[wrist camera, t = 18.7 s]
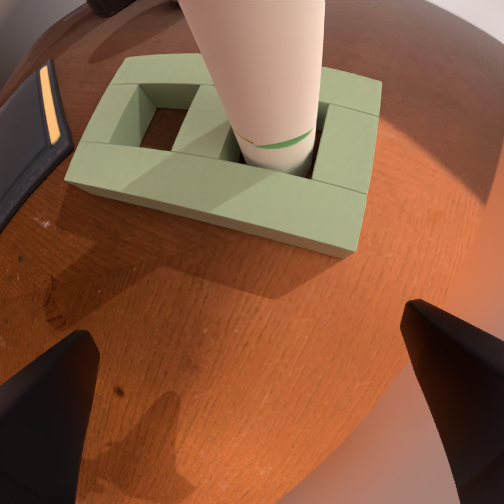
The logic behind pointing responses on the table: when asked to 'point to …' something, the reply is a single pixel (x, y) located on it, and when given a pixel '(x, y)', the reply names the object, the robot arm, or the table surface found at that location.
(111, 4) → the statue
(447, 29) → the table surface
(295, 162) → the tube
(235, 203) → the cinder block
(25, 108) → the wallet
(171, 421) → the table surface
